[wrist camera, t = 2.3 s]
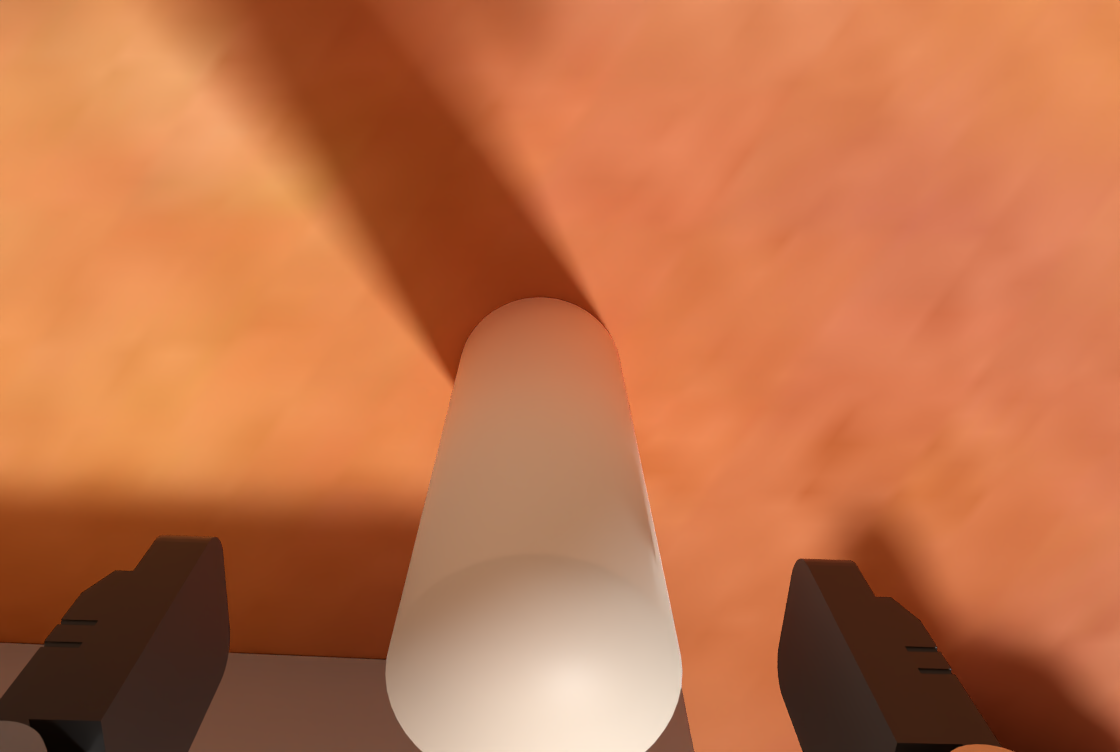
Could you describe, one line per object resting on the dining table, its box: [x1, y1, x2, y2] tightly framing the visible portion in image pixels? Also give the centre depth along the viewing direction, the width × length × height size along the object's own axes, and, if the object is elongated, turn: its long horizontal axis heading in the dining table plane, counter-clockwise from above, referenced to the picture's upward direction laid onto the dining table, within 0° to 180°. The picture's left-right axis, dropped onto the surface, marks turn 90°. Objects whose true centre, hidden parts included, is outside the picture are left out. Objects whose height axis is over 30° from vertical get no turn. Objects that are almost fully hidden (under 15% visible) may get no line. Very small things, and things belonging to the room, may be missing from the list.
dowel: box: [385, 297, 682, 752], centre depth 16 cm, size 4×4×10 cm
